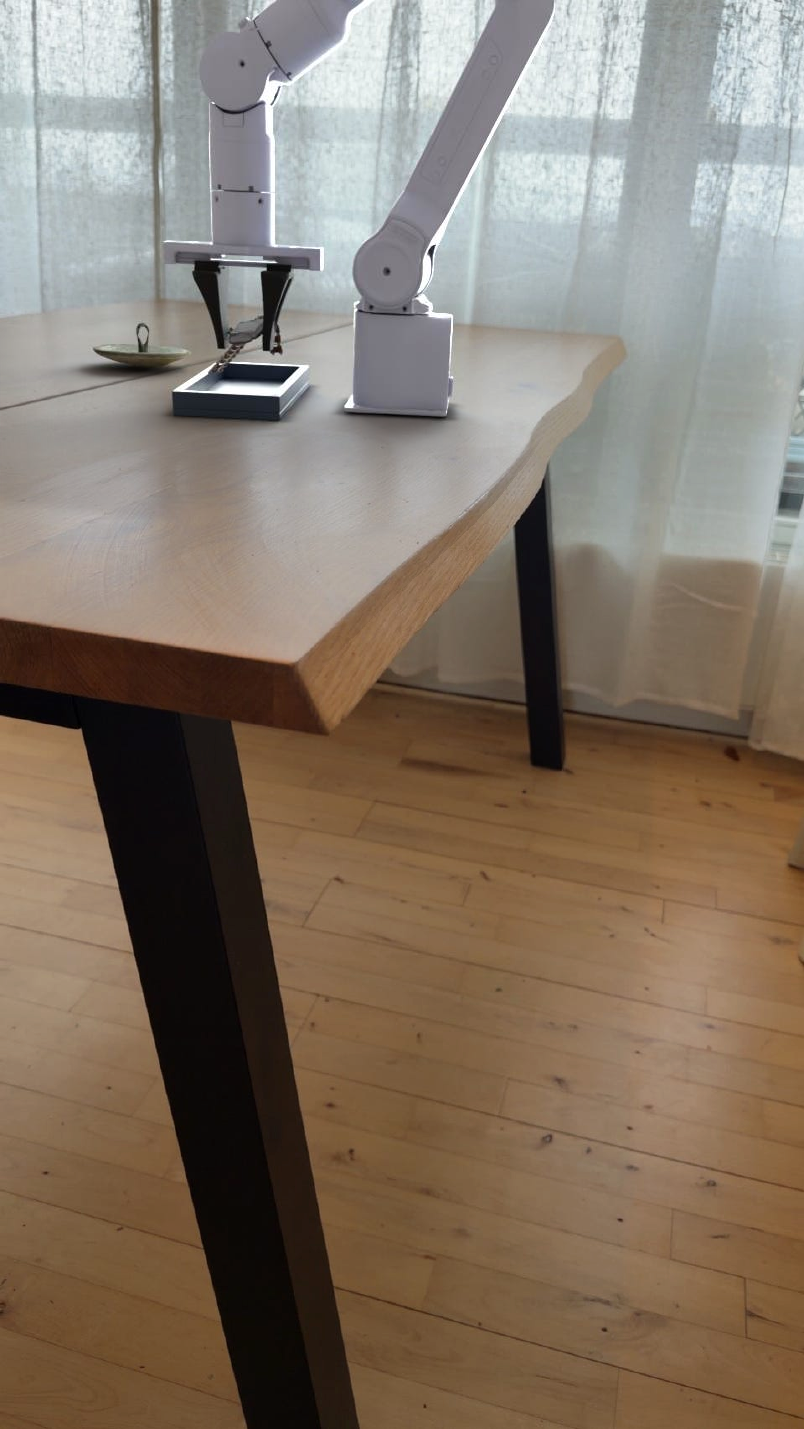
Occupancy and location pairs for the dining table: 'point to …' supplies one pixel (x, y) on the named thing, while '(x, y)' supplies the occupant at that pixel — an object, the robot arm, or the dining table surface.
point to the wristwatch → (245, 341)
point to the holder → (242, 391)
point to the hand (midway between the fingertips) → (245, 349)
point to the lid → (141, 352)
